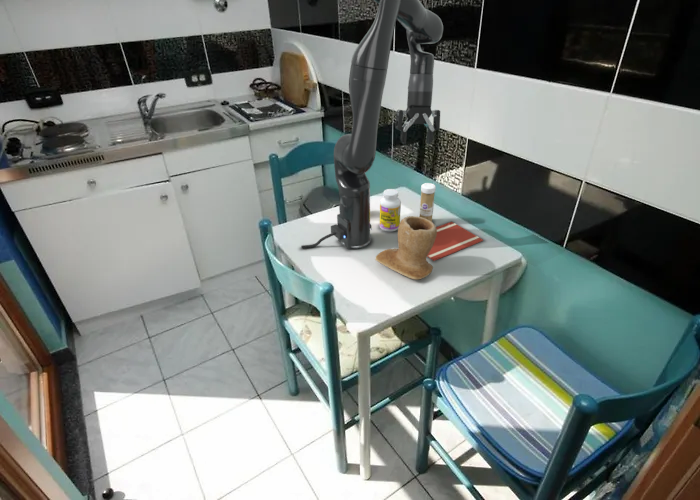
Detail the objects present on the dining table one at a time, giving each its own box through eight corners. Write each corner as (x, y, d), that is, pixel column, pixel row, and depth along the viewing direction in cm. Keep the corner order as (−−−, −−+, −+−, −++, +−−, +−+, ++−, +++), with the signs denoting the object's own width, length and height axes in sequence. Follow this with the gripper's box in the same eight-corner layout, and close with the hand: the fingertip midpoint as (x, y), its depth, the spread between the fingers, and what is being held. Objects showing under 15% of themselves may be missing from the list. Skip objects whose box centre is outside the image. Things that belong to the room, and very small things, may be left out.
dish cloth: (433, 261, 121) (433, 259, 121) (403, 240, 131) (404, 238, 131) (482, 240, 129) (483, 239, 129) (451, 222, 140) (451, 221, 139)
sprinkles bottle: (418, 224, 139) (420, 187, 131) (419, 218, 142) (421, 182, 135) (431, 226, 138) (435, 188, 130) (432, 219, 142) (436, 182, 134)
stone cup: (441, 268, 118) (447, 222, 110) (415, 287, 111) (419, 239, 103) (400, 248, 127) (402, 204, 119) (373, 264, 120) (374, 219, 112)
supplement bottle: (376, 230, 136) (377, 194, 129) (383, 221, 142) (383, 186, 135) (396, 233, 134) (397, 197, 127) (402, 224, 139) (403, 189, 132)
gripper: (402, 90, 124) (399, 145, 130) (446, 90, 127) (441, 144, 133) (394, 89, 131) (391, 142, 137) (436, 90, 134) (432, 141, 140)
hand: (416, 143), depth 135 cm, fingers open, 8 cm apart
